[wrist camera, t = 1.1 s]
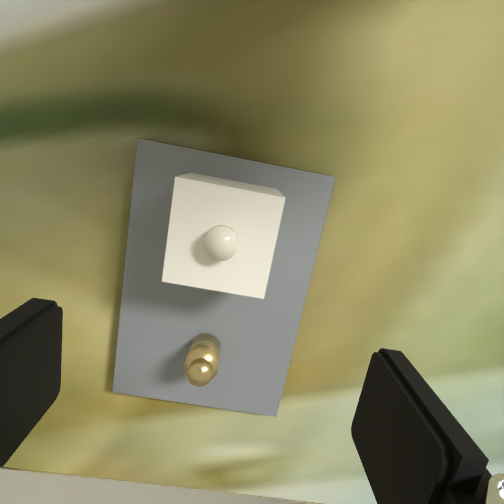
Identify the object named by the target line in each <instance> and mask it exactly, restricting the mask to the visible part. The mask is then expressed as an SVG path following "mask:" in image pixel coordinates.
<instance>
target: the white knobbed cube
mask: <svg viewBox="0 0 504 504" xmlns="http://www.w3.org/2000/svg"><path fill="white" fill-rule="evenodd" d="M284 203H285V197H284V196H283V195H282V194H281V193H280V192H279V191H278V190H277V189H274V188H269V187H264V186H259V185H253V184H248V183H243V182H238V181H233V180H227V179H222V178H217V177H212V176H207V175H201V174H196V173H187V174H184V175H180V176H176V177H175V182H174V190H173V197H172V205H171V213H170V221H169V228H168V236H167V244H166V252H165V259H164V267H163V275H162V282H167V283H173V284H179V285H185V286H191V287H197V288H203V289H208V290H214V291H220V292H226V293H232V294H238V295H244V296H249V297H255V298H261V299H264V296H265V292H266V287H267V282H268V278H269V273H270V268H271V264H272V259H273V254H274V250H275V245H276V240H277V236H278V231H279V226H280V222H281V217H282V212H283V208H284Z"/></svg>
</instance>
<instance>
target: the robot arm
mask: <svg viewBox="0 0 504 504" xmlns="http://www.w3.org/2000/svg"><path fill="white" fill-rule="evenodd" d="M62 317H63V311H62V308H61V307H58V306H57V303H56V302H55V301H51V300H45V299H38V298H32V299H30V300H29V301H27V302H26V303H24V304H23V305H21V306H20V307H18V308H16V309H15V310H13V311H12V312H10V313H9V314H7V315H6V316H4V317H3V318H1V319H0V504H322V503H314V502H305V501H297V500H288V499H280V498H271V497H263V496H254V495H246V494H237V493H229V492H220V491H212V490H203V489H194V488H186V487H177V486H168V485H160V484H151V483H142V482H133V481H125V480H116V479H107V478H98V477H90V476H81V475H72V474H63V473H54V472H45V471H35V470H26V469H17V468H8V467H3V466H4V464H5V463H6V462H7V461H8V459H9V458H10V457H11V456H12V454H13V453H14V452H15V450H16V449H17V448H18V447H19V445H20V444H21V443H22V442H23V440H24V439H25V438H26V437H27V435H28V434H29V433H30V431H31V430H32V429H33V428H34V426H35V425H36V424H37V423H38V421H39V420H40V419H41V418H42V416H43V415H44V414H45V412H46V411H47V410H48V409H49V407H50V406H51V405H52V404H53V402H54V401H55V400H56V398H57V396H58V394H59V391H60V386H61V352H62ZM351 433H352V438H353V441H354V443H355V446H356V449H357V451H358V454H359V457H360V459H361V462H362V464H363V467H364V470H365V472H366V475H367V478H368V480H369V483H370V485H371V488H372V491H373V493H374V496H375V499H376V501H377V504H504V474H499V473H498V474H495V475H493V476H492V475H491V474H490V473H489V471H488V470H487V469H486V466H487V463H488V461H489V460H488V458H487V457H486V456H485V455H484V453H483V452H482V451H481V450H480V448H479V447H478V446H477V445H476V444H475V442H474V441H473V440H472V439H471V437H470V436H469V435H468V434H467V432H466V431H465V430H464V429H463V427H462V426H461V425H460V424H459V422H458V421H457V420H456V419H455V417H454V416H453V415H452V414H451V412H450V411H449V410H448V409H447V407H446V406H445V405H444V404H443V403H442V401H441V400H440V399H439V398H438V396H437V395H436V394H435V393H434V391H433V390H432V389H431V388H430V386H429V385H428V384H427V383H426V381H425V380H424V379H423V378H422V376H421V375H420V374H419V373H418V371H417V370H416V369H415V368H414V366H413V365H412V364H411V363H410V362H409V360H408V359H407V358H406V357H405V355H404V354H403V353H402V352H401V351H396V350H389V349H383V348H381V349H380V350H379V351H378V353H377V352H375V353H373V355H372V357H371V360H370V364H369V367H368V371H367V374H366V378H365V381H364V384H363V388H362V391H361V395H360V398H359V402H358V405H357V408H356V412H355V415H354V419H353V422H352V427H351Z"/></svg>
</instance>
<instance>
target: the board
mask: <svg viewBox="0 0 504 504" xmlns="http://www.w3.org/2000/svg"><path fill="white" fill-rule="evenodd" d="M187 173H196V174H201V175H207V176H212V177H217V178H222V179H227V180H233V181H238V182H243V183H248V184H253V185H259V186H264V187H269V188H274V189H277V190H278V191H279V192H280V193H281V194H282V195H283V196H284V197H285V203H284V208H283V212H282V217H281V222H280V226H279V231H278V236H277V240H276V245H275V250H274V254H273V259H272V264H271V268H270V273H269V278H268V282H267V287H266V292H265V296H264V299H261V298H255V297H249V296H244V295H238V294H232V293H226V292H220V291H214V290H208V289H203V288H197V287H191V286H185V285H179V284H173V283H167V282H162V275H163V267H164V259H165V252H166V244H167V236H168V228H169V221H170V213H171V205H172V197H173V190H174V182H175V177H176V176H180V175H184V174H187ZM335 178H336V177H333V176H328V175H323V174H318V173H312V172H307V171H302V170H297V169H292V168H287V167H282V166H277V165H272V164H267V163H262V162H256V161H251V160H246V159H241V158H236V157H231V156H226V155H221V154H216V153H211V152H206V151H201V150H195V149H190V148H185V147H180V146H175V145H170V144H165V143H160V142H155V141H150V140H145V139H139V138H137V146H136V156H135V166H134V177H133V187H132V197H131V207H130V217H129V227H128V238H127V248H126V258H125V268H124V278H123V288H122V299H121V309H120V319H119V329H118V339H117V349H116V360H115V370H114V380H113V390H112V392H113V393H120V394H127V395H133V396H140V397H147V398H154V399H160V400H167V401H174V402H181V403H187V404H194V405H201V406H208V407H214V408H221V409H228V410H234V411H241V412H248V413H255V414H261V415H268V416H275V417H276V416H277V412H278V408H279V404H280V400H281V396H282V392H283V388H284V384H285V380H286V376H287V372H288V368H289V364H290V359H291V355H292V351H293V347H294V343H295V339H296V335H297V331H298V327H299V323H300V319H301V315H302V311H303V307H304V303H305V299H306V295H307V291H308V287H309V283H310V279H311V275H312V271H313V267H314V263H315V259H316V254H317V250H318V246H319V242H320V238H321V234H322V230H323V226H324V222H325V218H326V214H327V210H328V206H329V202H330V198H331V194H332V190H333V186H334V182H335ZM202 333H209V334H212V335H214V336H215V337H217V339H218V340H219V342H220V345H221V349H220V357H219V364H218V371H217V374H216V376H215V377H214V378H213V379H212V380H211V381H210V382H209V383H208V384H207V385H205V386H202V387H197V386H194V385H192V384H191V383H190V382H189V381H188V379H187V376H186V374H185V371H184V365H185V361H186V358H187V355H188V351H189V348H190V345H191V342H192V340H193V338H194V337H195V336H197V335H199V334H202Z"/></svg>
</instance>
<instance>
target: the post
mask: <svg viewBox="0 0 504 504" xmlns="http://www.w3.org/2000/svg"><path fill="white" fill-rule="evenodd" d="M220 349H221V345H220V342H219V340H218V339H217V337H215V336H214V335H212V334H209V333H202V334H199V335H197V336H195V337H194V338H193V340H192V342H191V345H190V348H189V351H188V355H187V358H186V361H185V365H184V371H185V374H186V376H187V379H188V381H189V382H190V383H191V384H192V385H194V386H197V387H202V386H205V385H207V384H208V383H209V382H210V381H211V380H212V379H213V378H214V377H215V376H216V374H217V371H218V364H219V357H220Z"/></svg>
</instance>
